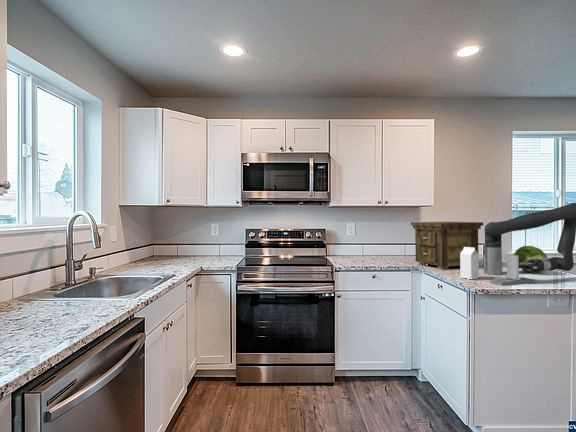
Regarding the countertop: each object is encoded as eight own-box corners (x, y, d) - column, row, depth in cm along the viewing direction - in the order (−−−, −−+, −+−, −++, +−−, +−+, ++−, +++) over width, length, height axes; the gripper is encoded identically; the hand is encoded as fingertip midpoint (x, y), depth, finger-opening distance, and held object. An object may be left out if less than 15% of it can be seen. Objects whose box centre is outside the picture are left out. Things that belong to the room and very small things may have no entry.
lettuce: (524, 275, 213) (532, 249, 210) (506, 264, 236) (513, 240, 233) (553, 281, 211) (562, 255, 208) (532, 269, 234) (540, 245, 231)
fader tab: (514, 279, 187) (514, 255, 187) (505, 277, 193) (505, 254, 193) (520, 279, 188) (520, 255, 188) (511, 277, 194) (510, 254, 194)
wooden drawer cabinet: (483, 268, 242) (483, 222, 242) (441, 271, 233) (440, 223, 233) (449, 261, 276) (448, 221, 276) (411, 264, 267) (410, 222, 267)
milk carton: (471, 280, 200) (471, 247, 200) (460, 278, 206) (460, 247, 206) (478, 279, 203) (478, 247, 203) (467, 277, 210) (467, 246, 210)
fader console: (502, 285, 184) (502, 281, 184) (490, 282, 192) (490, 279, 192) (535, 283, 189) (535, 279, 189) (522, 280, 197) (522, 276, 197)
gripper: (528, 257, 201) (503, 258, 197) (550, 260, 188) (524, 261, 184) (528, 270, 201) (503, 271, 197) (550, 273, 188) (524, 275, 184)
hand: (513, 266), depth 191 cm, fingers closed
